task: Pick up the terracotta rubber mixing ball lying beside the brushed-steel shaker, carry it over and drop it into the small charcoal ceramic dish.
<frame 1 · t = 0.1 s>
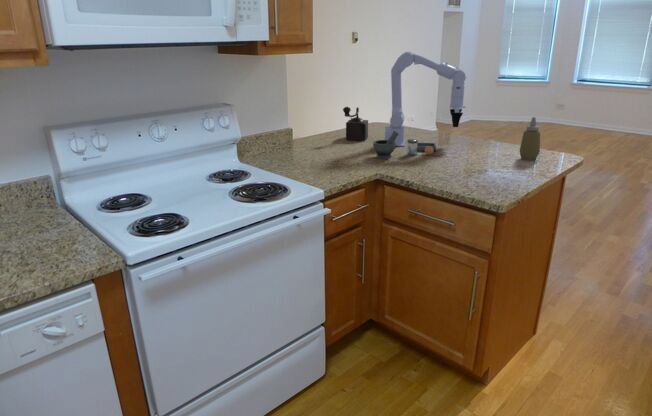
hand: (455, 125, 224), 10 cm above the countertop, fingers open, 7 cm apart
shaker: (412, 154, 213), on the countertop
squeeze bottle: (528, 159, 201), on the countertop
ball: (428, 154, 213), on the countertop
dish: (423, 149, 222), on the countertop
mortar and pestle: (385, 157, 210), on the countertop
manual coffee grinder: (355, 140, 246), on the countertop
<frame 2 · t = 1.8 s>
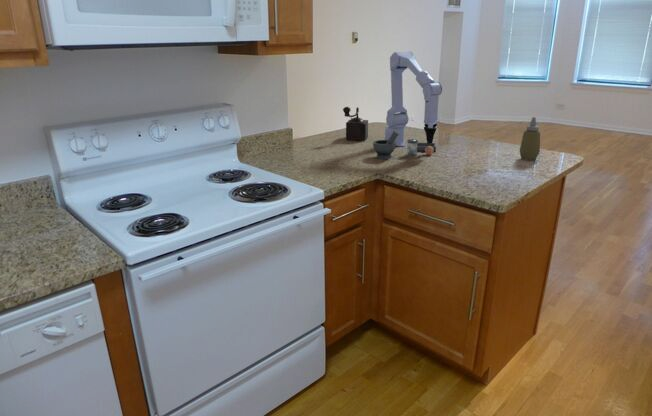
hand: (429, 141, 210), 6 cm above the countertop, fingers open, 7 cm apart
nothing on the countertop moved.
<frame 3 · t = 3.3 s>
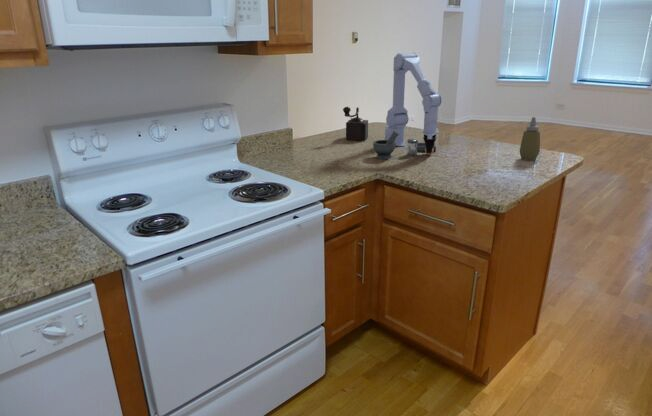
hand: (429, 151, 212), 1 cm above the countertop, fingers closed on ball, 4 cm apart
ball: (428, 154, 213), on the countertop, touching gripper
everything else where it was.
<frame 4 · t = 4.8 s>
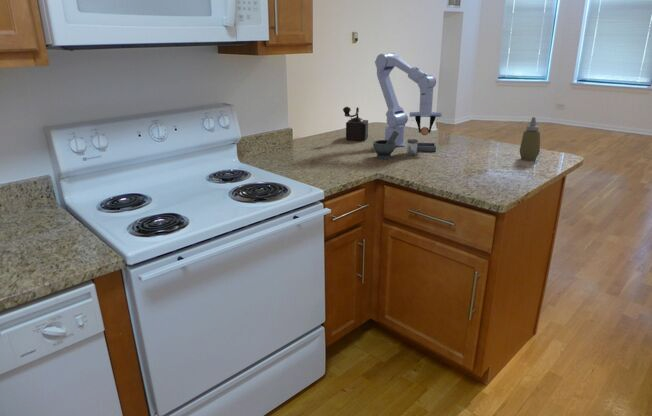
hand: (424, 132, 219), 8 cm above the countertop, fingers closed on ball, 4 cm apart
ball: (424, 135, 220), point 7 cm above the countertop, touching gripper
everything else where it was.
when the fingers open (4 cm above the countertop, at t = 6.4 s): ball drops 2 cm, resting on dish.
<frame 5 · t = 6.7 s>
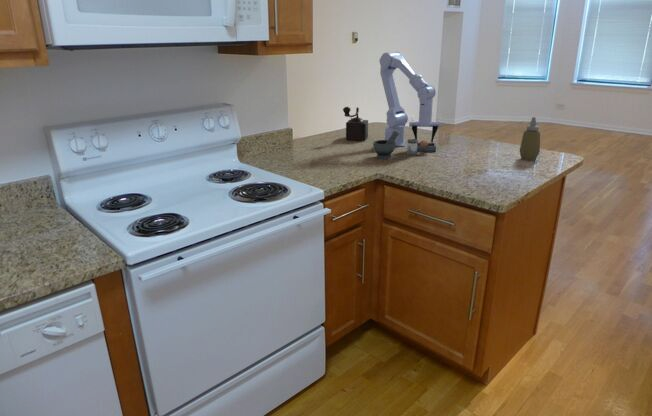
hand: (424, 142, 221), 4 cm above the countertop, fingers open, 7 cm apart
ball: (423, 148, 222), point 1 cm above the countertop, touching dish
everything else where it was.
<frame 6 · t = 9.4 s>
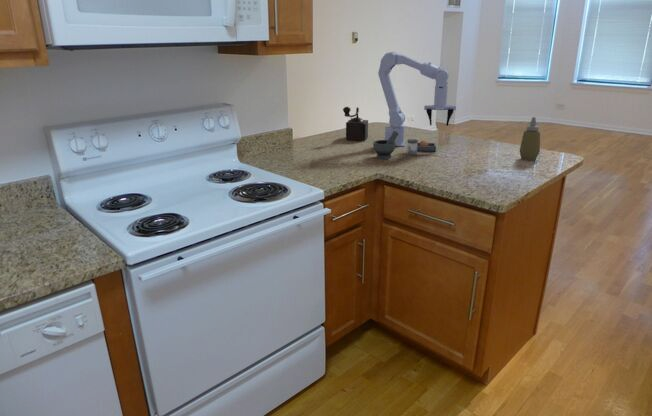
hand: (438, 125, 224), 10 cm above the countertop, fingers open, 7 cm apart
nothing on the countertop moved.
at the end: ball inside the target area on the dish (0.0 cm from its centre), point 0.6 cm above the dish's base; the gripper is holding nothing; shaker tilted 0° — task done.
